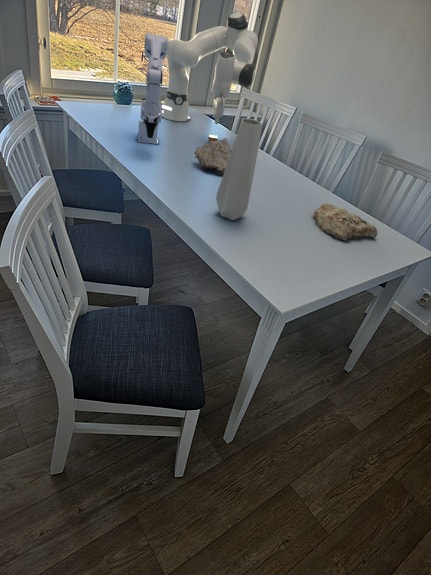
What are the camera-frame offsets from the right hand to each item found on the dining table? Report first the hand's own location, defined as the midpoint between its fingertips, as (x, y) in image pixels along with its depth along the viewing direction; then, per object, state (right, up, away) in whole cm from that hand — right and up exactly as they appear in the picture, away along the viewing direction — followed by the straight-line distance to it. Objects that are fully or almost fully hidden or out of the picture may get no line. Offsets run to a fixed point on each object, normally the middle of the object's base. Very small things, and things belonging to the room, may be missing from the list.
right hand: (215, 120), depth 191 cm
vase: (+6, -58, -53) cm, 79 cm away
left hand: (-29, -18, -26) cm, 42 cm away
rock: (-1, -31, -20) cm, 37 cm away
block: (-2, -9, +7) cm, 12 cm away
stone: (+47, -60, -43) cm, 88 cm away
